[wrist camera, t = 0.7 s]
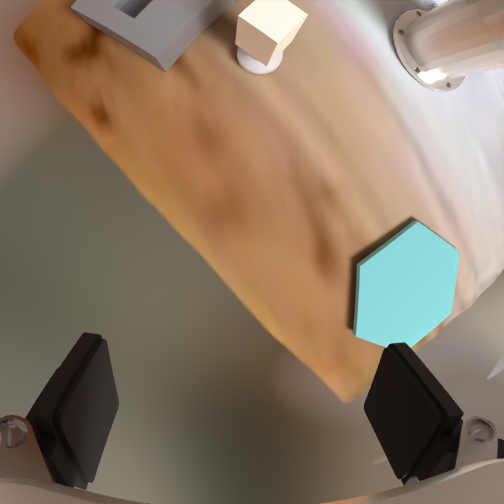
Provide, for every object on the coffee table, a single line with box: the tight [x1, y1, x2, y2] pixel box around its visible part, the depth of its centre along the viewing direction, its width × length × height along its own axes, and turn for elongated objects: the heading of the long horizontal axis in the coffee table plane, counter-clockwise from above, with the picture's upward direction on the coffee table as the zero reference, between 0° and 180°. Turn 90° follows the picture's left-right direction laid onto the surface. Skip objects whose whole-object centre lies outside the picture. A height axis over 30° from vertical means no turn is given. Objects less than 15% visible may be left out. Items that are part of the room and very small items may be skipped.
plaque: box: [353, 220, 460, 348], centre depth 40 cm, size 18×2×20 cm
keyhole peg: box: [235, 0, 307, 75], centre depth 25 cm, size 5×5×12 cm
